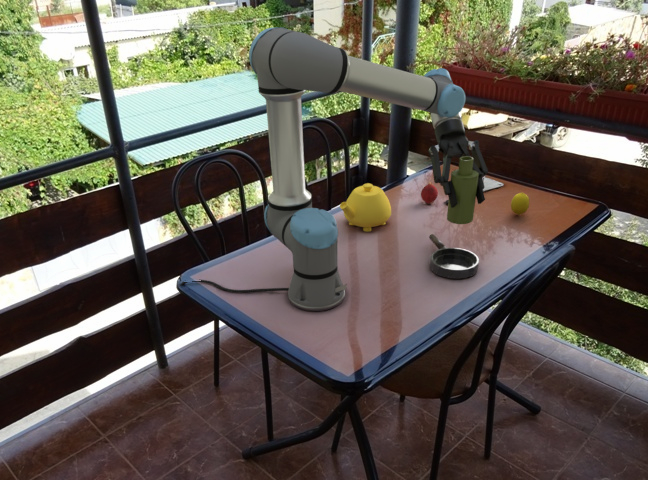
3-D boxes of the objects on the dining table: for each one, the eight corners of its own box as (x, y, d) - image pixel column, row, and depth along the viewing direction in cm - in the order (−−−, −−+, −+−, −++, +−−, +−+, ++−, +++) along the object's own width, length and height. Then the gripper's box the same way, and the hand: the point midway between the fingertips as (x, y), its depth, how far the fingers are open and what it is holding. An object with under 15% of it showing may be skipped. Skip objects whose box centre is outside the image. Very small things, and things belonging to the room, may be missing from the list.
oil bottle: (453, 225, 149) (459, 164, 140) (442, 215, 155) (448, 155, 145) (477, 222, 150) (485, 161, 141) (465, 212, 155) (473, 152, 146)
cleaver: (430, 197, 202) (451, 205, 195) (430, 195, 202) (451, 204, 195) (484, 178, 215) (506, 185, 208) (485, 176, 215) (506, 183, 207)
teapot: (357, 242, 176) (358, 202, 168) (324, 227, 186) (323, 189, 179) (400, 223, 186) (402, 184, 178) (366, 210, 196) (367, 172, 189)
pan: (440, 283, 153) (441, 272, 151) (422, 260, 164) (423, 251, 162) (485, 276, 154) (487, 266, 153) (464, 254, 165) (466, 245, 164)
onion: (438, 206, 195) (440, 184, 191) (422, 207, 196) (423, 185, 191) (435, 200, 200) (436, 178, 196) (418, 200, 200) (420, 179, 196)
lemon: (528, 213, 186) (532, 190, 182) (524, 219, 182) (529, 196, 178) (511, 210, 189) (515, 188, 185) (507, 216, 185) (511, 194, 181)
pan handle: (441, 253, 164) (442, 248, 163) (428, 238, 172) (428, 233, 171) (447, 252, 164) (447, 247, 163) (433, 238, 172) (434, 232, 171)
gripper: (476, 128, 155) (496, 204, 151) (408, 136, 153) (427, 214, 148) (488, 113, 148) (510, 193, 144) (417, 121, 146) (437, 203, 141)
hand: (468, 203), depth 146 cm, fingers closed on oil bottle, 7 cm apart
